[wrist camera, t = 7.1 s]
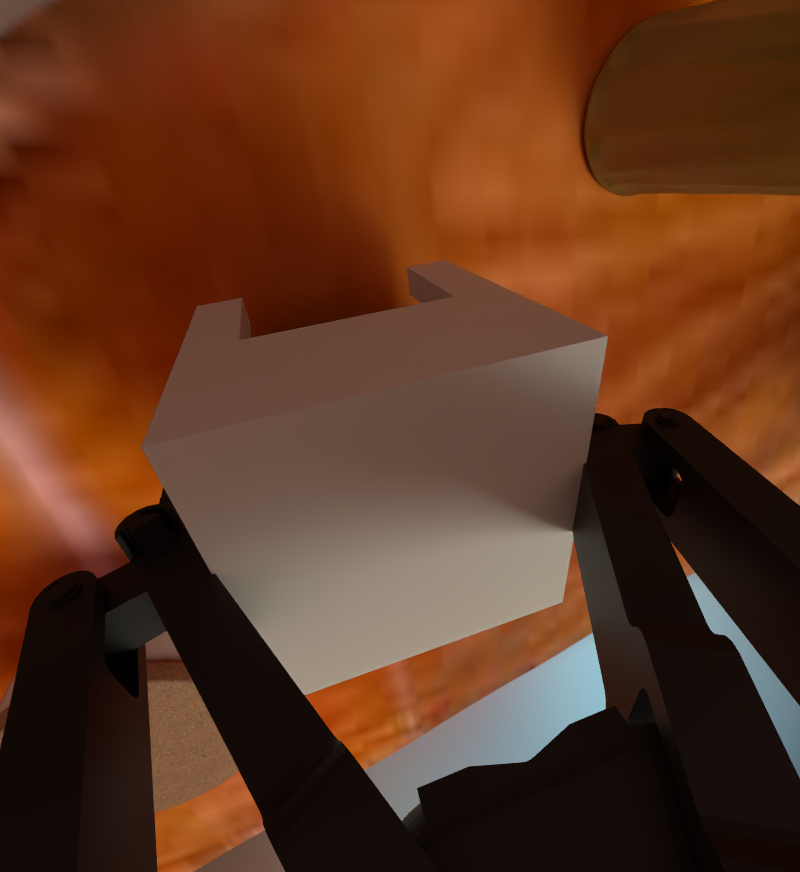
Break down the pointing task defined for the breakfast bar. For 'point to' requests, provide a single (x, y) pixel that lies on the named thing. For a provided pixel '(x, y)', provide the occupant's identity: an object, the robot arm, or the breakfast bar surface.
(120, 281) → the breakfast bar surface
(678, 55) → the vase
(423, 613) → the notched white block
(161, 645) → the lidded jar
